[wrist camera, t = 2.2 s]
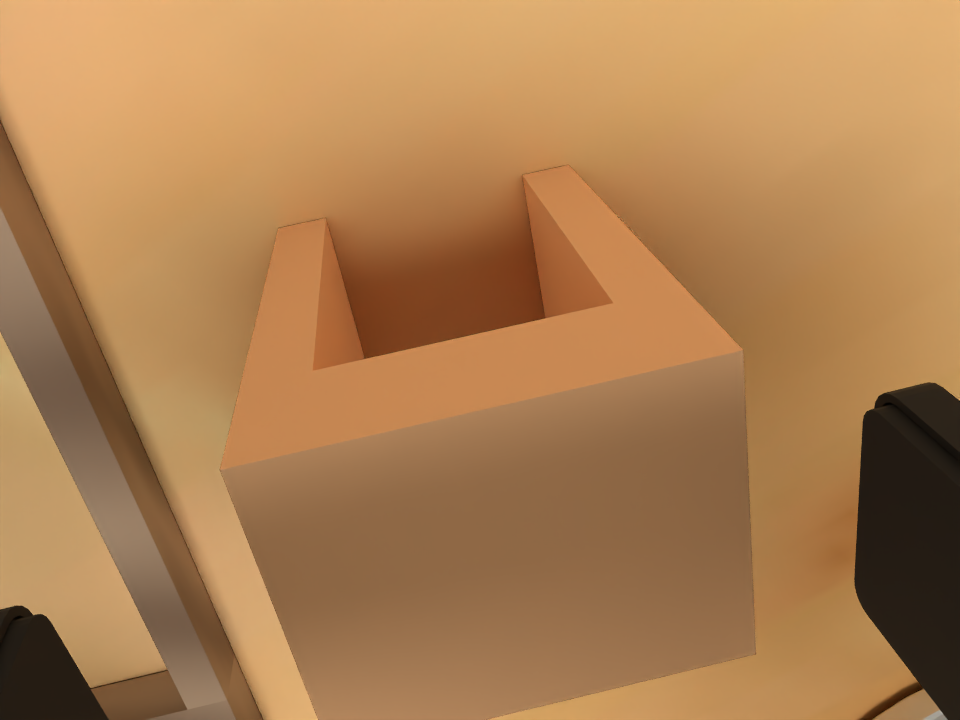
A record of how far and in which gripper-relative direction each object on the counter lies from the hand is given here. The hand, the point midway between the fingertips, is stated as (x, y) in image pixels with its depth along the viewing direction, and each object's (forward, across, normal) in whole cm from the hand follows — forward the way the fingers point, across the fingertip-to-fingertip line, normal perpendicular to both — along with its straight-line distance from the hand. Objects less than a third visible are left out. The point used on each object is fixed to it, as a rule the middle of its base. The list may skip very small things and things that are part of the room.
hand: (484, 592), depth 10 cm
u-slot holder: (+10, -1, +1) cm, 10 cm away
